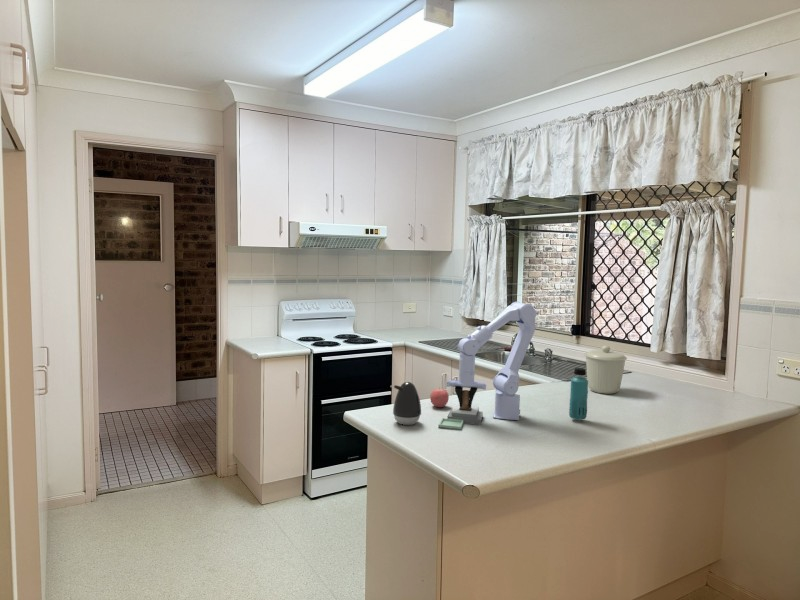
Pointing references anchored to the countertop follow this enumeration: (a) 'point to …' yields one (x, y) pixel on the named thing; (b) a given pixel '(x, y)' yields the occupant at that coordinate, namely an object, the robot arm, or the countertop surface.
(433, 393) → the apple
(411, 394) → the pump dispenser
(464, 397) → the brown wooden cylinder
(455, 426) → the rest tray
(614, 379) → the canister
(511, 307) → the robot arm
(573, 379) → the beverage bottle
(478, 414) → the box
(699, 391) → the countertop surface
